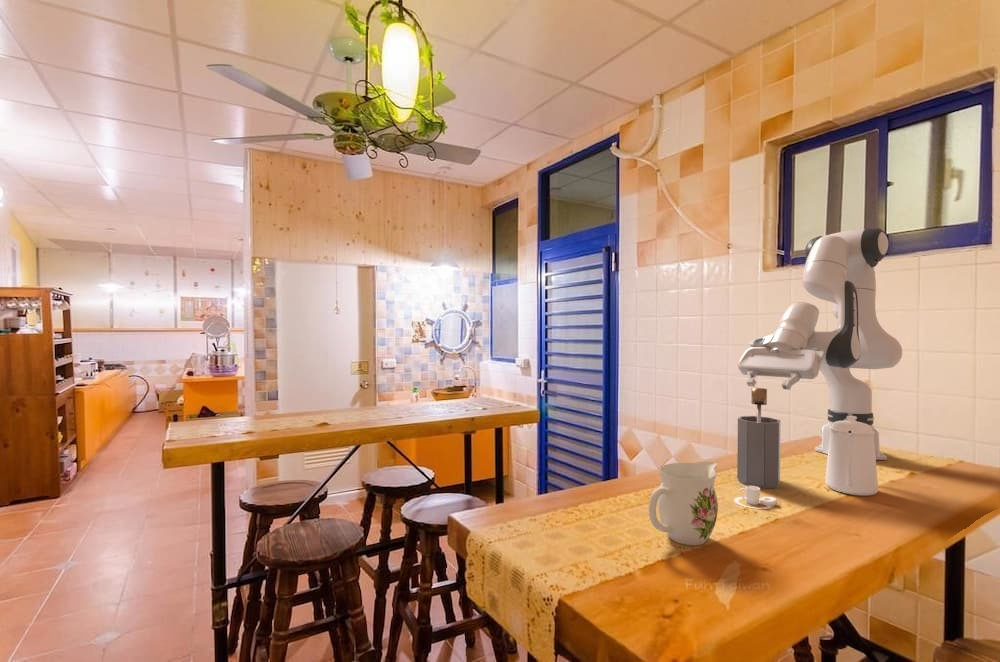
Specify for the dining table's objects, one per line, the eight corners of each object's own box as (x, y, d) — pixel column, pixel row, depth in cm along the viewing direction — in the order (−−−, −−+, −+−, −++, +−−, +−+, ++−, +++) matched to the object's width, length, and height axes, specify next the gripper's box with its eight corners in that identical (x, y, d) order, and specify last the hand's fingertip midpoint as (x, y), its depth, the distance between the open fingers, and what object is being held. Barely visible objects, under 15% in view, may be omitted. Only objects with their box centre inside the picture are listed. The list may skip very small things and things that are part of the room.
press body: (743, 472, 139) (743, 413, 139) (782, 478, 134) (782, 417, 134) (735, 484, 129) (735, 420, 129) (777, 491, 123) (777, 424, 123)
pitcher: (628, 538, 96) (629, 468, 96) (691, 520, 105) (691, 456, 105) (673, 561, 86) (674, 483, 86) (738, 540, 95) (738, 469, 95)
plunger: (745, 472, 135) (746, 386, 135) (775, 477, 131) (776, 388, 131) (741, 479, 129) (741, 389, 129) (772, 484, 125) (773, 391, 125)
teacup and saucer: (779, 505, 115) (780, 488, 115) (770, 515, 109) (770, 496, 109) (739, 496, 121) (739, 480, 121) (729, 505, 115) (729, 487, 115)
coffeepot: (821, 499, 118) (821, 421, 117) (828, 474, 137) (829, 407, 137) (878, 509, 111) (879, 426, 111) (877, 481, 131) (878, 411, 131)
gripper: (831, 356, 129) (813, 398, 123) (754, 354, 146) (736, 390, 141) (822, 340, 126) (804, 381, 121) (745, 340, 143) (727, 376, 138)
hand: (767, 386), depth 131 cm, fingers open, 8 cm apart
